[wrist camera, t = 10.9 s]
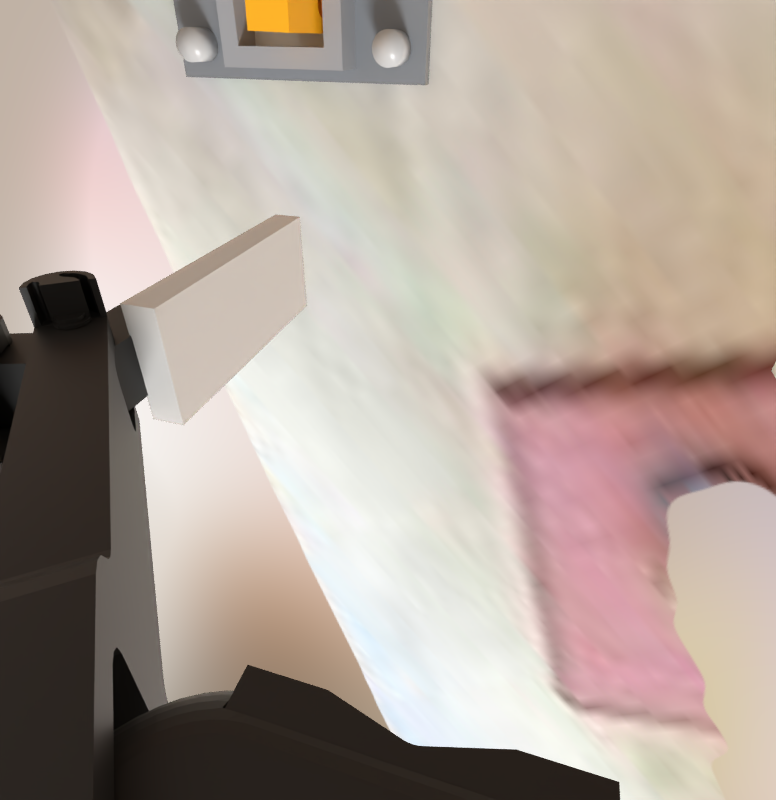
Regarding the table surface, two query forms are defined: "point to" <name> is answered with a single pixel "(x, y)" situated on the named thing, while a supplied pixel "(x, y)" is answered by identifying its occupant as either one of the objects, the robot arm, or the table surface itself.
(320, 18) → the orange bracket
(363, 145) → the table surface
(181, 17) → the chassis
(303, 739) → the robot arm
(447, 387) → the table surface
